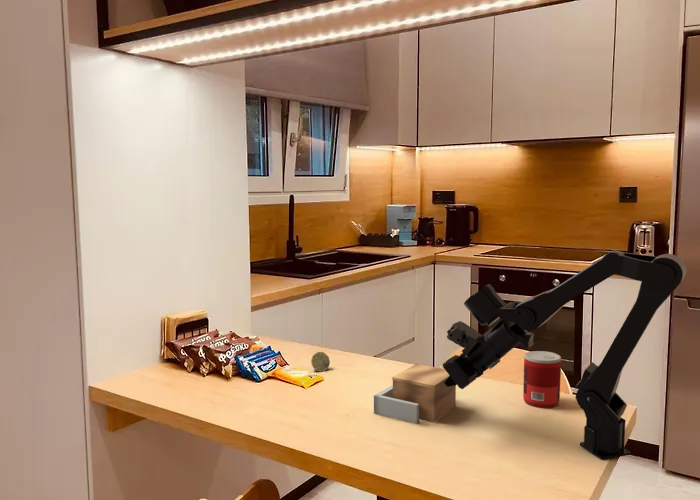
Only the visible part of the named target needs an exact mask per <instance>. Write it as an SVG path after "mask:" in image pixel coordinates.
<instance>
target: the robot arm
mask: <svg viewBox="0 0 700 500" xmlns="http://www.w3.org/2000/svg"><path fill="white" fill-rule="evenodd" d="M614 275H617V276H619V277H620V276H621V277H625V278H628V279H631V280H634V281H637V282H640V285H639V290H638V294H637V297H636V301H635V302H634V304H633V306H632V308H631V309H630V311H629V312H628V314H627V316H626V318H625V319H624V322H623V323H622V325H621V327H620V329H619V330H618V332H617V334H616V335H615V338H614V340H613V341H612V343H611V345H610V346H609V347H608V348H609V349H608V350H607V352H606V353H605V355H604V356H603V359H602V361H601V362H600V363H599V365H597V364H595V362H593V361H592V362H590V363H589V365H588V366H587V367H586V368H585V369H584V371H583V373H582V376H581V379H580V380H579V381H578V382H577V384H576V385H575V386H574V389H577V391H576V393H575V401H576V402H577V405H578V406H579V408H580V409H582V411H583V412H584V416H585V418H586V422H585V423H586V424H585V425H584V429H583V430H584V431H583V441H579V446H580V447H582V448H583V449H585V450H586V451H588V452H590V453H591V454H592V455H594V456H595V457H596V458H599V459H600V460H606V459H613V458H619V457H624V456H625V457H626V456H630V455H631V451H630V450H627V449H626V448H625V437H626V419H625V418H623V417H622V416H623V415H624V413H625V412H626V411H625V410H626V409H627V407H628V404H627V403H626V402H625V401H624V399H623V398H622V397H621V396H620V395H619V394H618V393H617V392H616V391H617V390H618V387H619V383H620V381H621V380H620V379H621V376H622V373H623V372H622V371H623V369H624V368H625V365H626V364H627V362H628V361H629V358H631V355H632V354H633V352H634V350H635V349H636V347H637V345H638V343H639V341H640V340H641V338H642V337H643V335H644V334H645V331H646V330H647V328H648V326H649V324H650V323H651V321H652V319H653V318H654V316H655V315H656V313H657V311H658V309H659V308H660V307H661V306H662V305H663V304H664V302H665V301H666V300H667V299H668V298H669V297H670V296H671V295H672V294H673V292H674V291H675V290H676V289H677V288H678V287H679V285H680V284H681V283H682V281H683V280H684V278H685V277H686V275H687V267H686V264H685V262H684V261H683V259H682V258H681V257H680V256H677V255H676V254H675V255H674V254H671V253H663V254H660V255H658V256H652V255H648V254H638V253H630V252H629V253H628V252H626V251H625V252H624V251H621V250H615V249H614V250H611V251H608V252H606V253H605V254H604V255H603V256H602V257H601V258H599V259H598V260H597V261H595V262H593V263H592V264H591V265H589V266H587V267H586V268H584V269H582V270H581V271H579V272H578V273H576V274H575V275H572V277H569V278H568V279H567V280H565V281H564V282H562V283H561V284H558V285H557V286H555V287H554V288H552V289H549V290H546V291H543V292H541V293H539V294H537V295H533V296H531V297H529V298H528V299H527V298H526V299H525V300H523V301H517V302H516V301H512V302H511V301H510V302H508V303H507V304H506V302H505V301H504V300H503V299H502V297H501V296H500V295H499V294H498V293H497V292H496V290H495V288H494V287H493V286H492V284H489V283H488V284H486V285H485V286H484V287H483V288H481V289H479V290H478V291H477V292H476V293H474V294H472V295H471V296H469V297H468V298H466V300H465V301H464V302H463V306H464V307H466V309H467V310H468V311H469V312H470V313H471V315H472V316H473V317H474V318H475V320H476V321H477V322H478V323H479V324H480V325H481V326H485V325H487V326H488V327H490V326H491V325H493V324H494V323H495V322H497V321H498V320H499V319H500V320H499V321H498V322H497V323H496V324H495V325H494V326H493V327H491V328H490V329H489V330H488V331H485V332H484V333H482V334H481V333H480V332H478V331H477V330H476V329H474V328H472V327H471V326H470V325H468V324H467V323H465V322H463V321H461V320H460V321H459V320H458V321H457V322H455V323H453V324H452V325H451V327H449V329H448V330H447V331H446V333H447V334H446V339H448V340H449V341H451V342H453V343H454V344H456V345H458V346H459V347H461V348H463V349H462V350H461V352H462V353H461V354H460V355H458V354H454V355H453V356H452V357H450V358H448V359H447V360H446V361H444V362H443V363H442V369H445V370H446V372H447V373H448V374H449V375H450V376H449V377H448V379H447V380H446V381H445V384H446V386H447V387H450V386H454V385H456V387H458V388H459V389H461V390H464V389H465V388H466V387H468V386H469V385H470V384H472V383H473V382H474V381H475V380H477V379H478V378H480V377H481V376H482V375H484V372H486V371H487V370H488V369H489V370H491V369H492V368H494V367H495V366H497V365H498V364H499V363H500V362H501V359H502V358H504V356H506V355H507V354H508V353H509V352H510V351H512V350H513V349H514V348H515V347H516V346H518V345H519V344H521V345H522V346H523V347H524V348H525V349H526V350H527V349H529V348H531V347H532V346H533V345H534V336H535V334H534V333H533V332H532V331H535V330H536V329H539V328H540V327H541V326H543V325H544V324H545V323H546V322H548V321H549V320H550V319H551V318H552V317H553V316H555V314H556V313H558V312H559V311H560V310H561V308H563V307H564V306H566V304H568V303H569V302H571V301H573V300H575V299H576V298H577V297H580V296H581V295H582V294H584V293H586V292H588V291H589V290H591V289H592V288H593V287H596V286H597V285H599V284H600V283H602V282H603V281H605V280H607V279H608V278H610V277H612V276H614Z"/></svg>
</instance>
